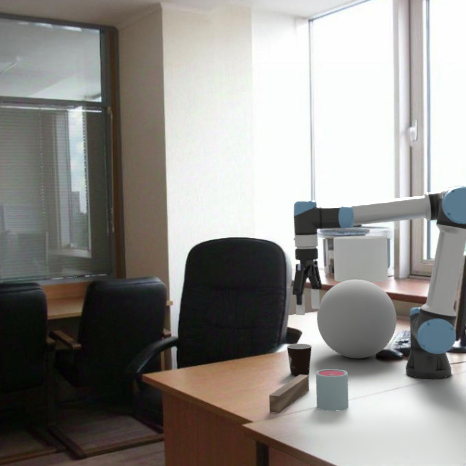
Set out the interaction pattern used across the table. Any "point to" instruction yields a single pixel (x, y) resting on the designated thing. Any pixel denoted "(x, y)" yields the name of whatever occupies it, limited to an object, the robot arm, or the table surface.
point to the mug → (332, 389)
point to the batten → (288, 393)
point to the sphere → (356, 318)
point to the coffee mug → (299, 358)
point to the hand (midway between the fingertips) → (308, 311)
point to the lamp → (361, 258)
